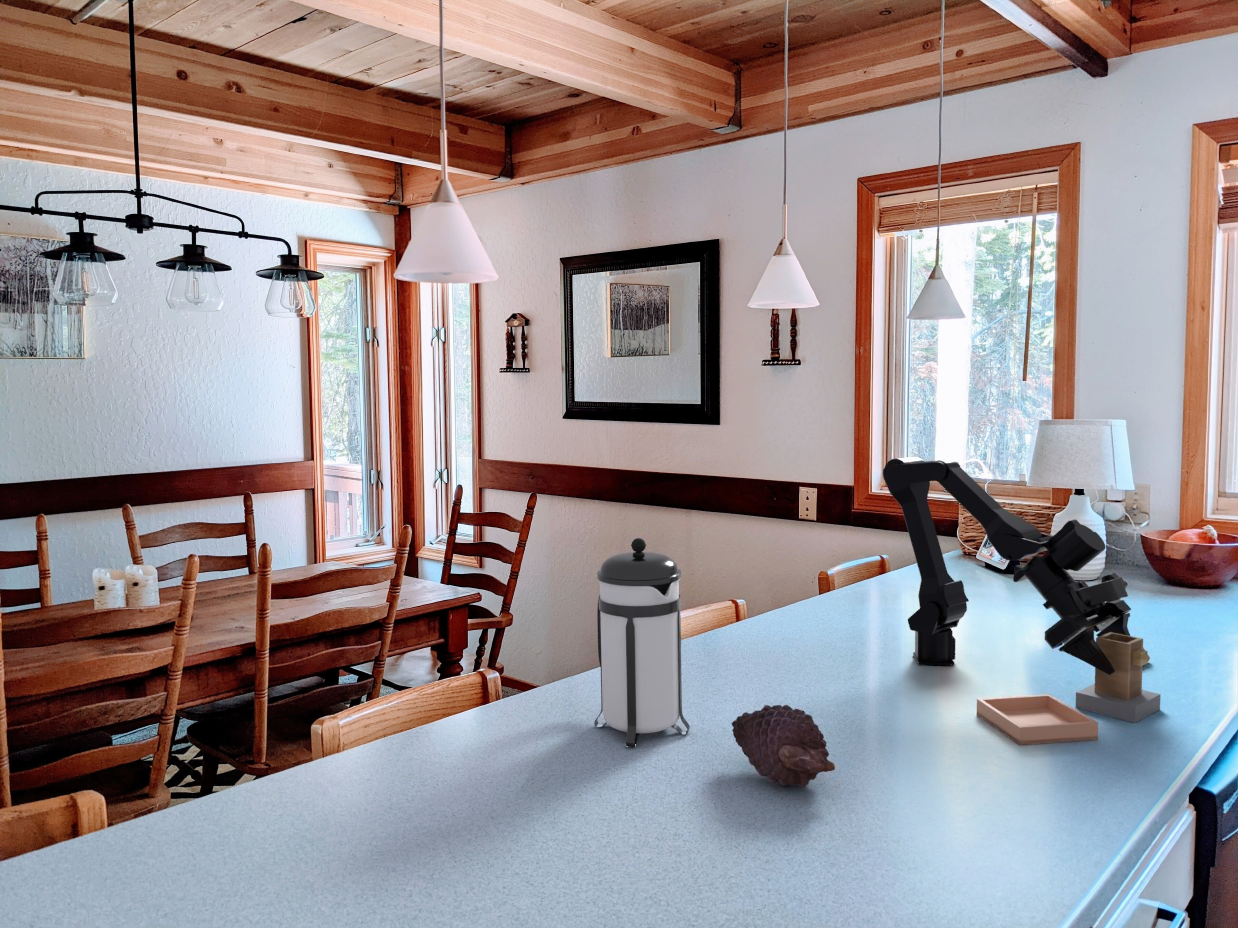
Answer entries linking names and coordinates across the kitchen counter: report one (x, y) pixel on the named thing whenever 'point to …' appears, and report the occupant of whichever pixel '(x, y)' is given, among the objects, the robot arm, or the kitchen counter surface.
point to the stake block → (1118, 704)
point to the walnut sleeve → (1121, 666)
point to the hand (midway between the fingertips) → (1125, 667)
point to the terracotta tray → (1037, 719)
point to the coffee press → (640, 642)
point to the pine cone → (783, 744)
